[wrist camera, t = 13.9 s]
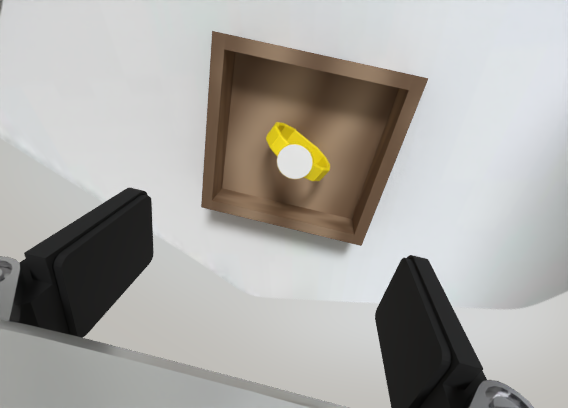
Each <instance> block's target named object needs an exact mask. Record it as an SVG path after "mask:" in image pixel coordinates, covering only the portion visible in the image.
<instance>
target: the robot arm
mask: <svg viewBox="0 0 568 408" xmlns="http://www.w3.org/2000/svg"><path fill="white" fill-rule="evenodd" d="M24 254H25V257H26V259H25V260H23V261H21V262H20V263H19V262H18V261H17V260H16V259H13V258H10V257H2V256H0V408H348V407H345V406H341V405H337V404H333V403H330V402H326V401H322V400H319V399H315V398H311V397H307V396H303V395H300V394H296V393H292V392H289V391H285V390H281V389H278V388H274V387H270V386H266V385H262V384H259V383H255V382H251V381H247V380H243V379H240V378H236V377H232V376H228V375H225V374H221V373H217V372H213V371H209V370H205V369H202V368H198V367H194V366H190V365H186V364H182V363H178V362H175V361H171V360H167V359H163V358H159V357H155V356H151V355H148V354H144V353H140V352H136V351H132V350H128V349H124V348H120V347H116V346H112V345H109V344H105V343H101V342H97V341H93V340H89V339H85V338H82V337H84V336H85V335H86V334H87V333H88V332H89V331H90V330H91V329H92V328H93V327H94V326H95V324H96V323H97V322H98V321H99V320H100V319H101V318H102V317H103V315H104V314H105V313H106V312H107V311H108V310H109V308H111V306H112V305H113V304H114V303H115V302H116V300H117V299H118V298H119V297H120V296H121V295H122V294H123V293H124V292H125V291H126V289H127V288H128V287H129V286H130V285H131V284H132V283H133V282H134V280H135V279H136V278H137V277H138V276H139V275H140V274H141V272H142V271H143V270H144V269H145V268H146V267H147V265H149V263H150V262H151V260H152V257H153V231H152V206H151V198H150V197H149V196H148V195H147V193H146V192H145V191H142V190H138V189H133V188H127V189H125V190H124V191H122V192H120V193H119V194H117V195H116V196H114V197H112V198H111V199H109V200H108V201H106V202H104V203H103V204H101V205H100V206H98V207H97V208H95V209H93V210H92V211H90V212H89V213H87V214H85V215H84V216H82V217H81V218H79V219H77V220H76V221H74V222H73V223H71V224H69V225H68V226H67V227H65V228H63V229H62V230H60V231H58V232H57V233H55V234H54V235H52V236H50V237H49V238H47V239H46V240H44V241H43V242H41V243H39V244H38V245H36V246H35V247H33V248H31V249H30V250H28V251H27V252H25V253H24ZM375 320H376V326H377V331H378V336H379V342H380V348H381V352H382V358H383V364H384V369H385V375H386V380H387V385H388V391H389V396H390V402H391V407H392V408H534V407H533V406H532V405H531V403H530V402H529V401H528V400H527V399H525V398H524V397H523V396H522V395H521V394H520V393H518V392H517V391H515V390H514V389H512V388H511V387H509V386H508V385H505V384H503V383H501V382H499V381H493V380H487V379H486V377H485V375H484V373H483V371H482V370H483V367H482V365H481V363H480V361H479V359H478V357H477V355H476V354H475V352H474V350H473V348H472V346H471V344H470V342H469V340H468V338H467V336H466V334H465V332H464V330H463V328H462V326H461V324H460V322H459V320H458V318H457V316H456V314H455V312H454V310H453V308H452V306H451V304H450V302H449V300H448V298H447V296H446V294H445V292H444V290H443V288H442V286H441V284H440V282H439V280H438V278H437V276H436V274H435V272H434V270H433V268H432V266H431V264H430V262H429V261H428V259H425V258H421V257H416V256H412V255H410V256H408V257H407V258H403V259H402V260H401V261H400V263H399V265H398V267H397V269H396V271H395V273H394V275H393V277H392V280H391V282H390V284H389V286H388V288H387V290H386V292H385V294H384V296H383V298H382V300H381V302H380V304H379V306H378V308H377V310H376V314H375Z"/></svg>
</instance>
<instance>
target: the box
mask: <svg viewBox="0 0 568 408" xmlns="http://www.w3.org/2000/svg"><path fill="white" fill-rule="evenodd" d="M427 81H428V78H424V77H419V76H415V75H410V74H405V73H401V72H396V71H392V70H387V69H383V68H378V67H374V66H369V65H364V64H360V63H355V62H351V61H346V60H342V59H337V58H333V57H328V56H323V55H319V54H314V53H310V52H305V51H301V50H296V49H292V48H287V47H283V46H278V45H273V44H269V43H264V42H260V41H255V40H251V39H246V38H242V37H237V36H232V35H228V34H223V33H219V32H214V31H212V45H211V61H210V77H209V93H208V109H207V125H206V141H205V157H204V173H203V189H202V205H201V207H203V208H207V209H211V210H215V211H219V212H223V213H228V214H232V215H236V216H240V217H244V218H248V219H253V220H257V221H261V222H265V223H269V224H273V225H277V226H282V227H286V228H290V229H294V230H298V231H302V232H307V233H311V234H315V235H319V236H323V237H327V238H331V239H336V240H340V241H344V242H348V243H352V244H356V245H362V243H363V240H364V238H365V235H366V233H367V230H368V228H369V225H370V223H371V220H372V218H373V215H374V213H375V210H376V208H377V205H378V203H379V200H380V198H381V195H382V193H383V190H384V188H385V185H386V183H387V180H388V178H389V175H390V173H391V170H392V168H393V166H394V163H395V161H396V158H397V156H398V153H399V151H400V148H401V146H402V143H403V141H404V138H405V136H406V133H407V131H408V128H409V126H410V123H411V121H412V118H413V116H414V113H415V111H416V108H417V106H418V103H419V101H420V98H421V96H422V93H423V91H424V88H425V86H426V83H427ZM276 122H280V123H284V124H287V125H289V126H291V127H293V128H294V129H296V131H298V132H299V133H300V134H301V135H303V136H304V137H305V138H306V139H308V140H309V141H310V142H311V143H312V144H314V145H315V146H316V147H318V148H319V150H320V151H321V152H322V153H323V154H324V155H325V157H326V158H327V160H328V162H329V163H330V171H329V172H328V173H327V174H326V175H325V176H324V177H323V178H322V179H321V180H320V181H310V180H308V179H306V178H304V177H303V178H301V179H290V178H287V177H286V176H284V175H283V174H282V173H281V172H280V170H279V168H278V166H277V156H276V155H275V154H274V152H273V151H272V150H271V149H270V147H269V145H268V143H267V141H266V136H267V134H268V133H269V131H270V130H271V129H272V127H273V126H274V124H275V123H276Z"/></svg>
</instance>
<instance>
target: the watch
mask: <svg viewBox="0 0 568 408" xmlns="http://www.w3.org/2000/svg"><path fill="white" fill-rule="evenodd" d="M266 141H267V143H268V145H269V147H270V149H271V150H272V151H273V152H274V154H275V155H276V156H277V166H278V168H279V170H280V172H281V173H282V174H283V175H284V176H286V177H287V178H290V179H301V178H303V177H304V178H306V179H308V180H310V181H320V180H321V179H322V178H323V177H324V176H325V175H326V174H327V173H328V172H329V171H330V163H329V162H328V160H327V158H326V157H325V155H324V154H323V153H322V152H321V151H320V150H319V148H318V147H316V146H315V145H314V144H312V143H311V142H310V141H309V140H308V139H306V138H305V137H304V136H303V135H301V134H300V133H299V132H298V131H296V129H294V128H293V127H291V126H289V125H287V124H284V123H280V122H276V123H275V124H274V126H273V127H272V129H271V130H270V131H269V133H268V134H267V136H266Z"/></svg>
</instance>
